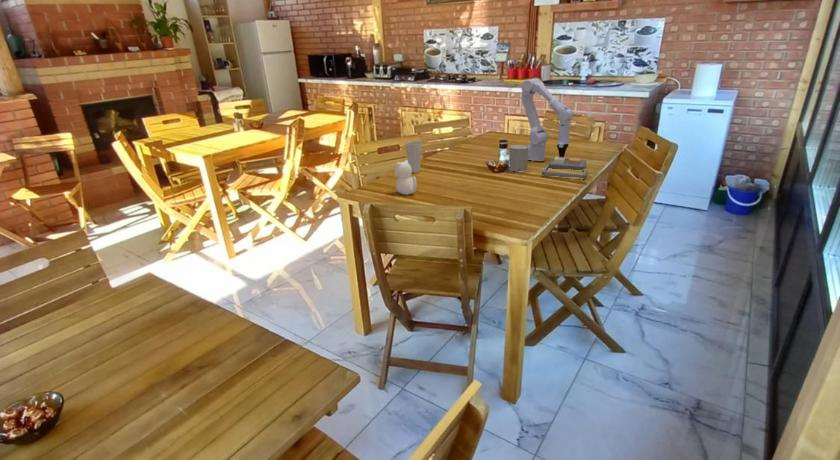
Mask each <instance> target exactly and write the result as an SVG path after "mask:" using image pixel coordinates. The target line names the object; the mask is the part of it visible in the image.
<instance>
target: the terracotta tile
mask: <svg viewBox="0 0 840 460" xmlns="http://www.w3.org/2000/svg"><path fill="white" fill-rule="evenodd" d="M569 159H570V160H569V164H576V165H579V164H580V160H581V158H577V157H570V158H569Z"/></svg>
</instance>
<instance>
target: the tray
mask: <svg viewBox="0 0 840 460" xmlns="http://www.w3.org/2000/svg"><path fill="white" fill-rule="evenodd" d="M548 168H549V164H547V165H546V166H544V168H543V170H542V171H541V176H542V175H544V176H559V177H579V178H584V177H585V178H586V176H585V175H587V174H586V172H588V168H587V167H585V168H584V171H583V175H581V174H569V173H558V172H547V170H548Z"/></svg>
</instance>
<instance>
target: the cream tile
mask: <svg viewBox="0 0 840 460" xmlns="http://www.w3.org/2000/svg"><path fill="white" fill-rule="evenodd" d="M554 158H555V159H554V163H563V164H564V162H565V158H566V157H565V156H564V157H559V156H555V157H554ZM566 159H567V158H566Z"/></svg>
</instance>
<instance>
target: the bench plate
mask: <svg viewBox="0 0 840 460" xmlns="http://www.w3.org/2000/svg"><path fill="white" fill-rule="evenodd" d="M554 159H555V157H553V158H552V159H551V160H550V161H549V163H548V165H549V168H552V169H571V170H572V169H573V170H583V169H584V170H585V168H584V166H585V164H586V165H587V160H586V159H580V164H579V165H576V164H569V160H570V158H565V162H564V164H563V163H554ZM585 167H586V166H585Z"/></svg>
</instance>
